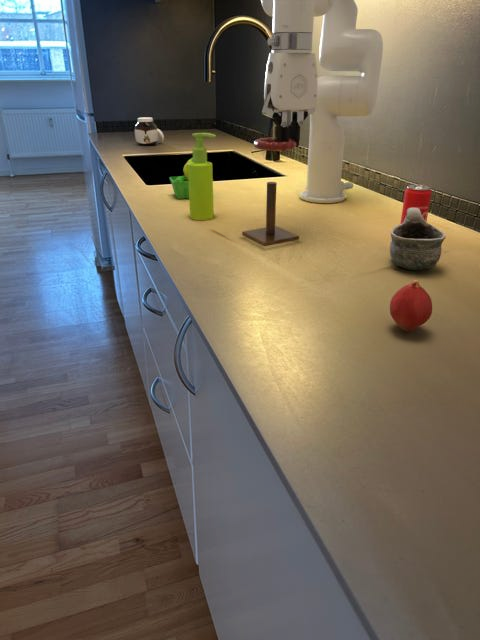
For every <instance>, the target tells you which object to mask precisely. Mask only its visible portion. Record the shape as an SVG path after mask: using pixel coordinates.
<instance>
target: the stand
mask: <svg viewBox="0 0 480 640" xmlns="http://www.w3.org/2000/svg"><path fill="white" fill-rule="evenodd" d="M277 183H278V182H276V181H268V182H266V204H265V205H266V208H265V209H266V210H265V227H260V228H255V229H250V230H244V231H242V232H241V236H243V237H245V238H247V239H249V240H250V241H252V242H255V243H257V244H259V245H261V246H263V247H268V246H272V245H278V244H282V243H283V244H284V243H288V242H293V241H297V240H298V241H299V240H300V235H297V234H295V233H294V232H290V231H288V230H286V229H284V228H282V227H279V226H277V225H276V214H277Z"/></svg>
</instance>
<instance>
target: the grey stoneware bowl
mask: <svg viewBox="0 0 480 640" xmlns="http://www.w3.org/2000/svg"><path fill="white" fill-rule="evenodd" d="M446 236H447V235H446V234H445V233H444V232H443V231H440V229H438V228H437V227H436V226H434V225H432V224H430V223H428V221H427V222H426V221H425V220H424V219H423V217H422V215H421V212H420V209H418V208H409V209H407V212H406V218H405V220H404V222H403V223H402V224H398V225H395V226H393V227H392V228H391V230H390V237H391V241H390V243H389V244H390V245H389V255H390V258H391V259H392V261H393V262H394V263H395V264H396V265H397V266H399V268H400V267H401V268H403V269H406V270H410V271H423V270H428V269H430V268H432V267H434V266H436V265H437V264H438V262H439V260H441V259H440V258H441V256H442V251H443V249H442V248H443V247H442V244H443V243H444V241H445V239H446Z"/></svg>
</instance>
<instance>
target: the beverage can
mask: <svg viewBox="0 0 480 640" xmlns="http://www.w3.org/2000/svg"><path fill="white" fill-rule="evenodd" d="M431 189H432V187H431V186H429V185H425V184H408V185H407V186H406V189H405V190H404V195H403V204H402V209H401V210H402V211H401V217H400V224H402V223H403V222H404V220H405V218H406V212H407V209H409V208H418V209H420V212H421V215H422V217H423V219H424V220H425V221H426V222H427V223H428V216H429V210H430V203H431V197H432V190H431ZM400 224H399V225H400Z"/></svg>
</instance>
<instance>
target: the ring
mask: <svg viewBox="0 0 480 640" xmlns="http://www.w3.org/2000/svg"><path fill="white" fill-rule="evenodd" d="M253 146H254V148H255V149H257V150H261V151H271V152H280V151H281V152H282V151H291V150H294V149H295V148H297V147H296V142H295V141H294V140H293V139H289V140H288V142H276V137H273V136H272V137H260V138H257V139H255V140H254V141H253Z"/></svg>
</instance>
